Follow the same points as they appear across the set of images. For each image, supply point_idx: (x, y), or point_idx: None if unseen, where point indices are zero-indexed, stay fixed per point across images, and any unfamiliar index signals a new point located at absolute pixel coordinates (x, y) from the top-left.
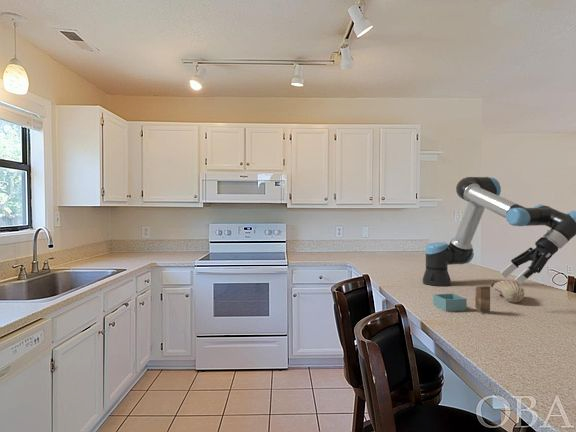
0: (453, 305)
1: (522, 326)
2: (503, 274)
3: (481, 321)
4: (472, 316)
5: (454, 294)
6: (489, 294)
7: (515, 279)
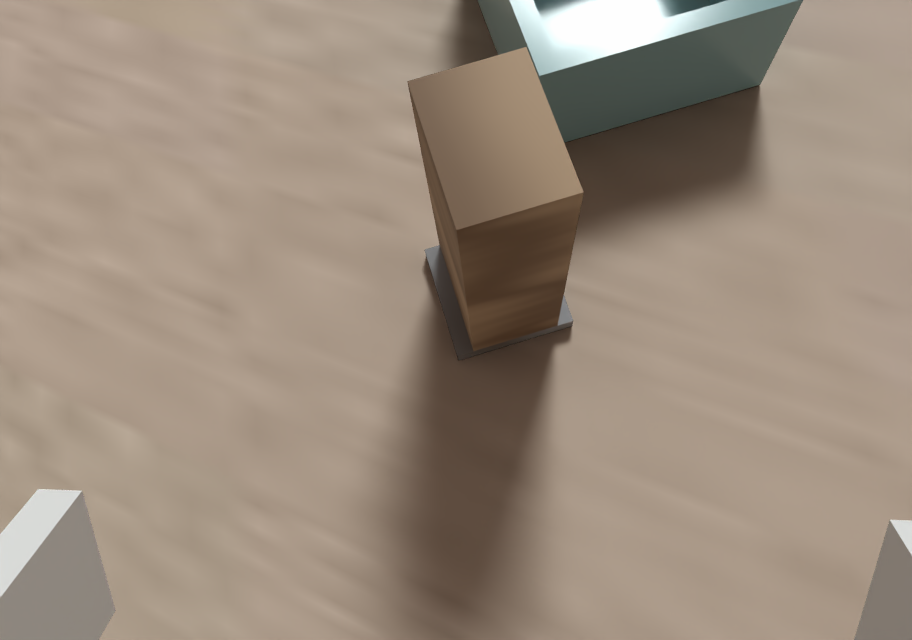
0: None
1: (28, 488)
2: (884, 588)
3: (183, 174)
4: (332, 146)
5: (748, 3)
6: (461, 269)
7: (39, 497)
